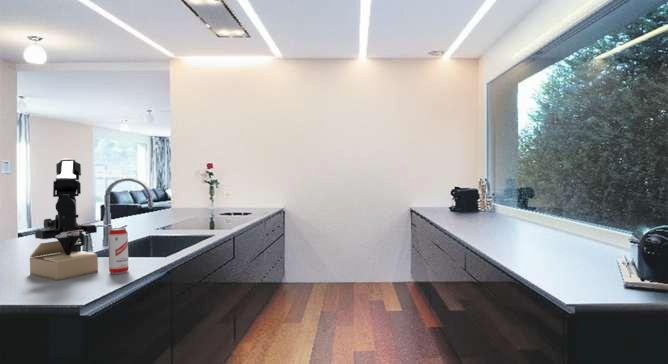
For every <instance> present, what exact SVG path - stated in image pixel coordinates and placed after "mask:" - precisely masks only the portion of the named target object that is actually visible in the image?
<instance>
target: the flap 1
mask: <svg viewBox="0 0 668 364" xmlns="http://www.w3.org/2000/svg"><path fill="white" fill-rule="evenodd" d="M79 240H80V238H79V239H78V240H77V242H78V241H79ZM77 242H76V243H77ZM76 243H75V244H76ZM61 252H64V250H63V248H62V245H61V244H60V242H59V241H58V240H57V241H55V240H54V241H47V242H42V243H40V242H39V245H38V246H37V247H36V248H35V249H34V250H33V252H32V253H31V254H30V255H29V258H32V257H38V256H44V255H50V254H56V253H61Z"/></svg>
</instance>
